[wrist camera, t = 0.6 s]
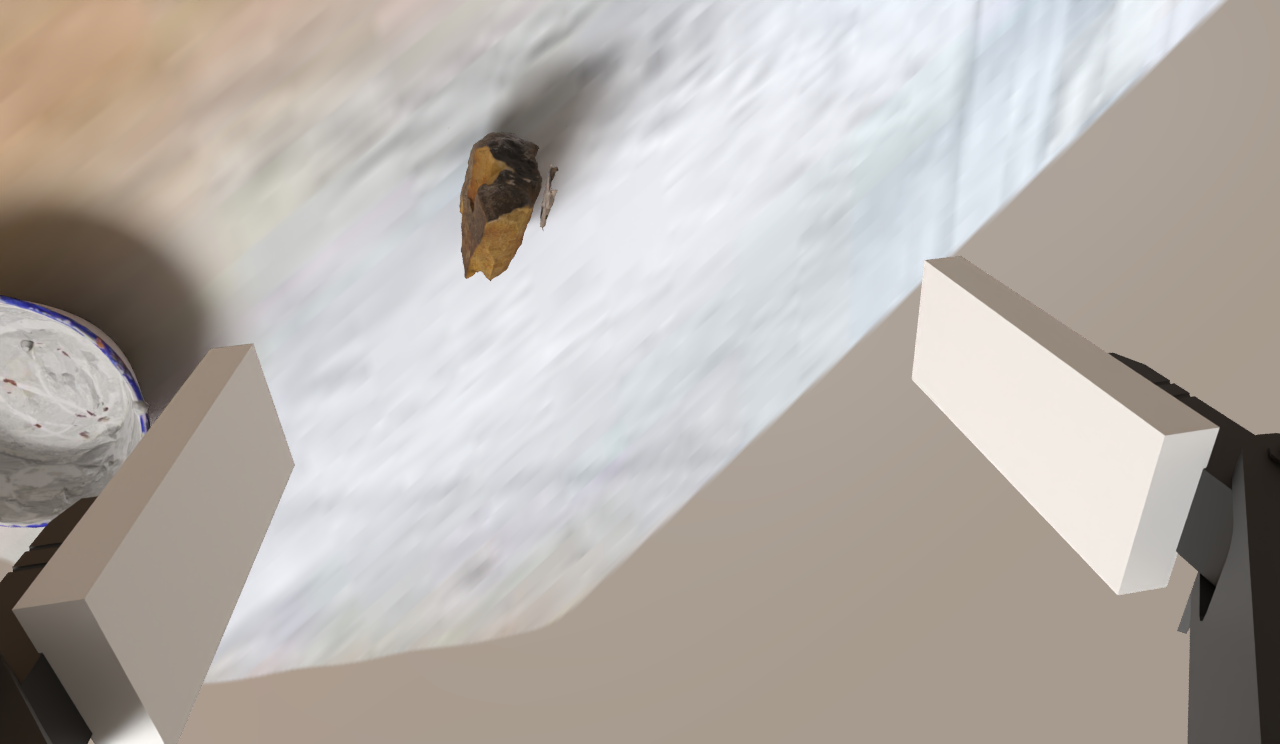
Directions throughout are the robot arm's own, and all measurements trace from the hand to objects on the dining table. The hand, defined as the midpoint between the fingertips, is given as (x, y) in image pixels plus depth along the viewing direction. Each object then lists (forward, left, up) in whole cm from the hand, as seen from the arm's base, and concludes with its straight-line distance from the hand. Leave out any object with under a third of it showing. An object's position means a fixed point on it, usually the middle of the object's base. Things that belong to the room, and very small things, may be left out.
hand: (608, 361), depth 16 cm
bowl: (+10, -28, -27) cm, 40 cm away
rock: (+1, -2, -27) cm, 27 cm away
